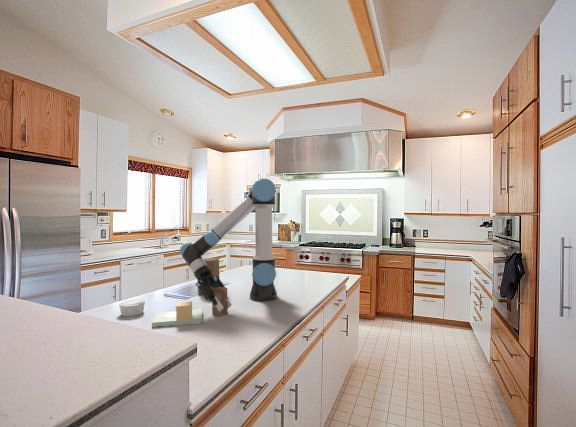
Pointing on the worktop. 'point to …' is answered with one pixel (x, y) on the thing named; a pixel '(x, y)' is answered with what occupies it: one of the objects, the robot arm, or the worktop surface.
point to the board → (170, 318)
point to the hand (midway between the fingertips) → (225, 308)
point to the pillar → (222, 297)
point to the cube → (184, 310)
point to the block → (212, 268)
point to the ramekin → (132, 307)
